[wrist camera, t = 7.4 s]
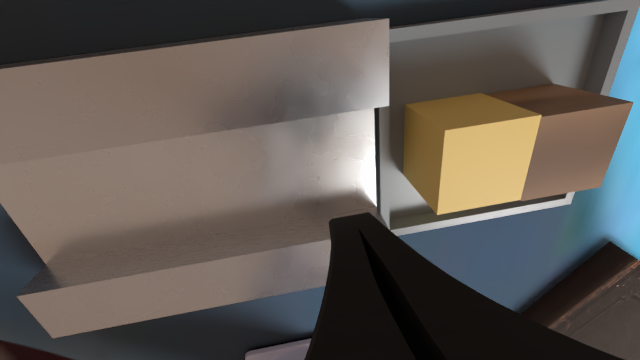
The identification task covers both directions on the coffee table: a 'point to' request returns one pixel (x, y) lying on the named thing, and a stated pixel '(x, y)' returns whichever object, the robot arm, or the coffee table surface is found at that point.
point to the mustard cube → (468, 151)
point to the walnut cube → (569, 137)
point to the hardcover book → (597, 304)
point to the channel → (189, 168)
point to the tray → (489, 84)
